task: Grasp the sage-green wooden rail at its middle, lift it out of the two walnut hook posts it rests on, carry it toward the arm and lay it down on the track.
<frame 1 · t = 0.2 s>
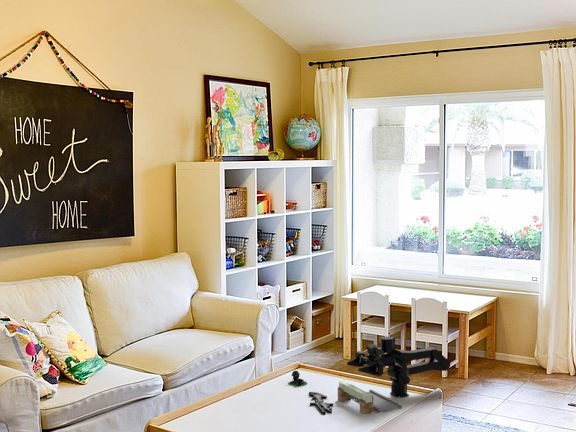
hand: (352, 366, 317), 17 cm above the table, tool horizontal, fingers open, 9 cm apart
rail: (355, 394, 316), point 5 cm above the table, touching hook post 2, hook post 1
hook post 2: (366, 412, 308), on the table
hook post 1: (344, 400, 324), on the table
toy figurine: (297, 384, 348), on the table
track: (375, 402, 321), on the table
nameplate: (319, 405, 319), on the table
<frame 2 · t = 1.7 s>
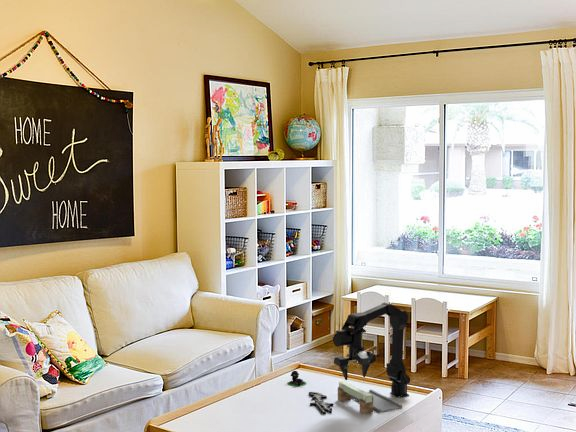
hand: (355, 378, 315), 12 cm above the table, tool pointing down, fingers open, 9 cm apart
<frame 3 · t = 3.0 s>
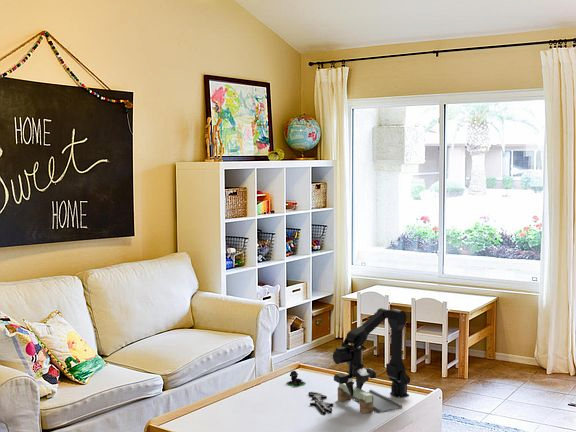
hand: (355, 395, 316), 5 cm above the table, tool pointing down, fingers closed on rail, 3 cm apart
rail: (355, 394, 316), point 5 cm above the table, touching gripper, hook post 2, hook post 1
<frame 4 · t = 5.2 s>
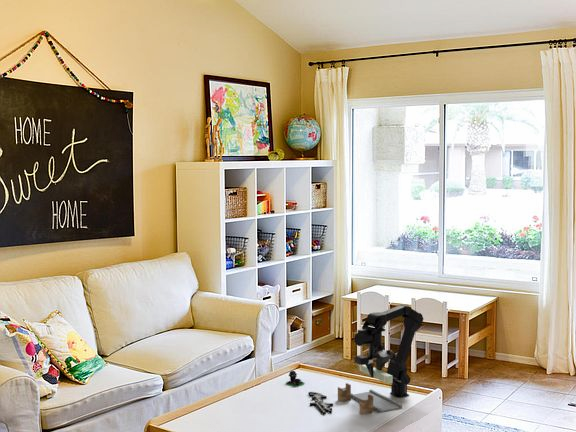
hand: (375, 376, 320), 12 cm above the table, tool pointing down, fingers closed on rail, 3 cm apart
rail: (375, 376, 320), point 12 cm above the table, touching gripper
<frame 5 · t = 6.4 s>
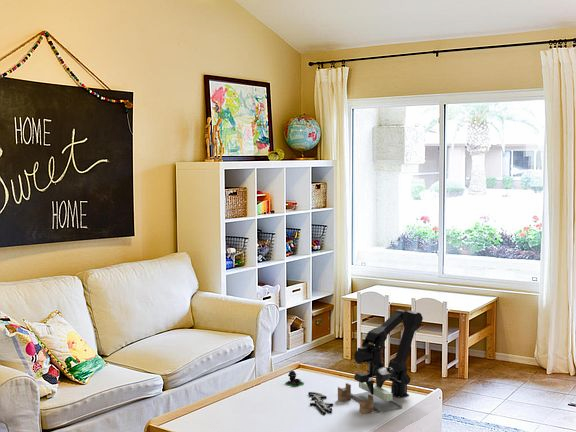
hand: (375, 394, 320), 4 cm above the table, tool pointing down, fingers closed on rail, 3 cm apart
rail: (375, 393, 320), point 4 cm above the table, touching gripper
when the fingers open (2 cm above the table, at t = 7.4 s): rail drops 2 cm, resting on track.
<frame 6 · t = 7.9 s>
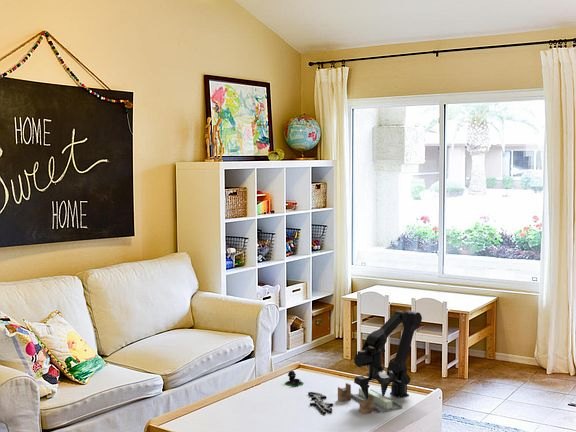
hand: (375, 397, 321), 2 cm above the table, tool pointing down, fingers open, 8 cm apart
rail: (375, 400, 321), point 1 cm above the table, touching track
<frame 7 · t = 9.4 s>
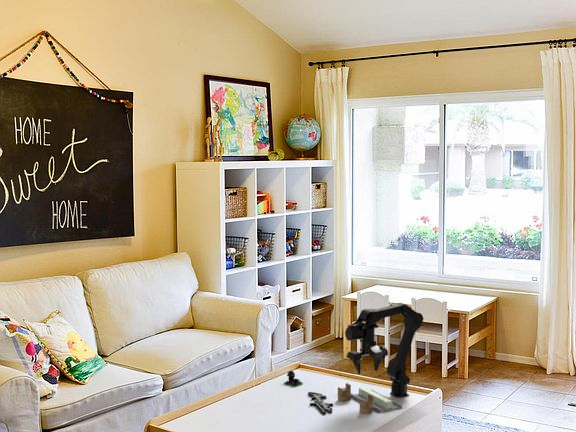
hand: (367, 372, 322), 13 cm above the table, tool pointing down, fingers open, 9 cm apart
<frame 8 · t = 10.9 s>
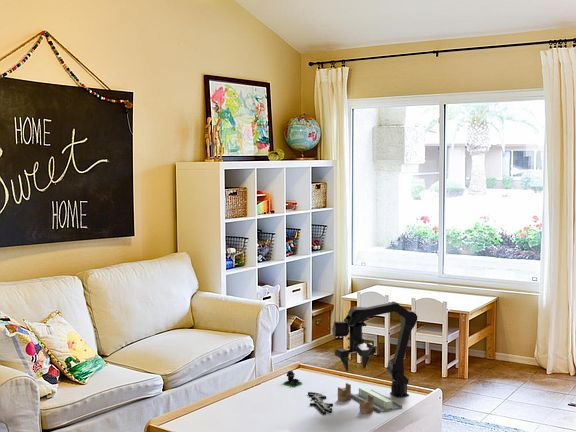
hand: (355, 369, 326), 13 cm above the table, tool pointing down, fingers open, 9 cm apart
at the end: rail point 0.6 cm above the table; rail inside the target area on the track (0.0 cm from its centre), point 0.6 cm above the track's base; the gripper is holding nothing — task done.
